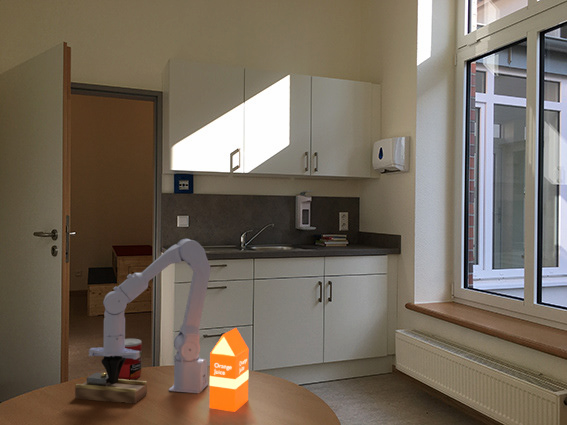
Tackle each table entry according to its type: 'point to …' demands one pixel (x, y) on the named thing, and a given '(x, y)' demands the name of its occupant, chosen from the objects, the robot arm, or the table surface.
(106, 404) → the table surface
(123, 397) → the wooden channel tray
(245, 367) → the orange juice
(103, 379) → the grey block with knob
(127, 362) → the canned food
